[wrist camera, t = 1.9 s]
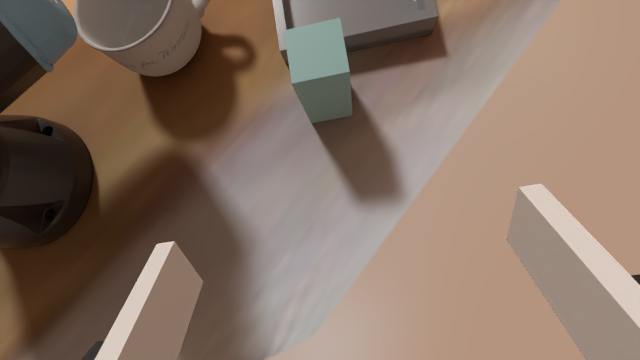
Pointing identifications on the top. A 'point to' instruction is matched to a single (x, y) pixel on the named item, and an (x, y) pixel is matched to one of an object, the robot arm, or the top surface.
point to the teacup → (142, 31)
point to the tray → (359, 19)
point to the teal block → (320, 69)
